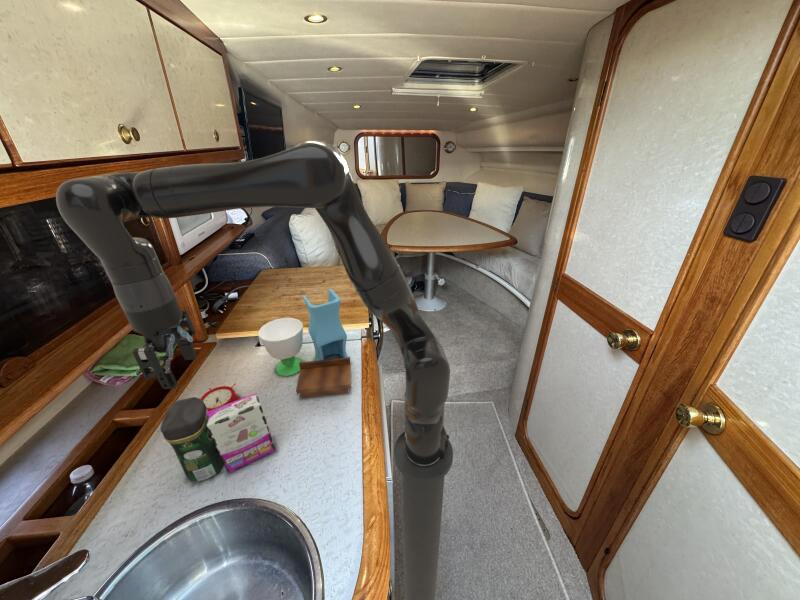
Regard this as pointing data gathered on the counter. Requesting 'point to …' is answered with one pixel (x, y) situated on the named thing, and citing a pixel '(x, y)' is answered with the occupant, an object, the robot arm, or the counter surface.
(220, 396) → the alarm clock
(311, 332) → the blue forked stand
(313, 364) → the wooden serving tray
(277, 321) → the cup
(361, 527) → the counter surface
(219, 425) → the candy bar box
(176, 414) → the coffee jar
